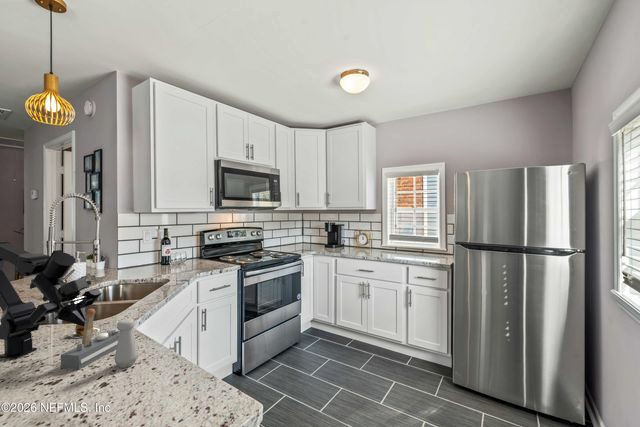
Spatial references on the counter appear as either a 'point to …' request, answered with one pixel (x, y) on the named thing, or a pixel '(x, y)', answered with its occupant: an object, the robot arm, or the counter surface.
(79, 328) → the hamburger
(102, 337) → the white button
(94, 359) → the console
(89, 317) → the ash lever
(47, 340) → the counter surface
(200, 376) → the counter surface
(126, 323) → the salt shaker
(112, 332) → the block
